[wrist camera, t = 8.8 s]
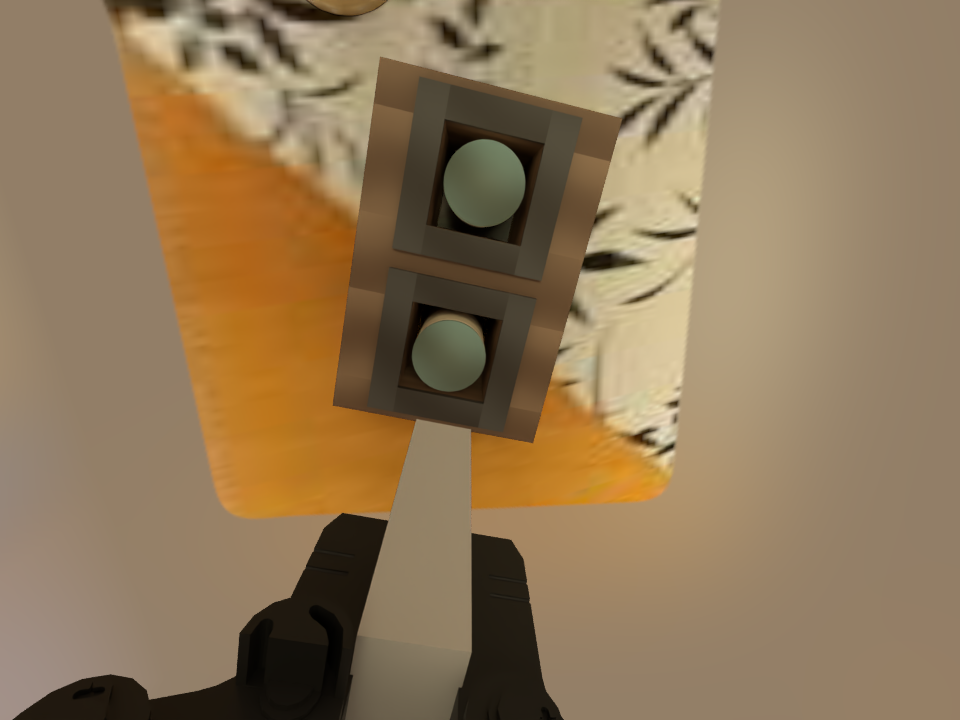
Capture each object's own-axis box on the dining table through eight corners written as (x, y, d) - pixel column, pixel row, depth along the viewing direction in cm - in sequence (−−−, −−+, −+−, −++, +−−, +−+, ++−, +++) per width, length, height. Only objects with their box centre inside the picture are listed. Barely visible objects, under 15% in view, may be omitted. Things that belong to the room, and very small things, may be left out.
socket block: (403, 103, 29) (378, 53, 21) (582, 147, 30) (625, 116, 22) (363, 365, 33) (330, 408, 25) (518, 395, 34) (533, 446, 26)
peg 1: (456, 157, 29) (452, 130, 21) (516, 171, 29) (534, 150, 21) (445, 220, 30) (436, 216, 22) (502, 233, 30) (514, 234, 22)
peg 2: (431, 292, 31) (419, 314, 23) (486, 304, 32) (492, 329, 24) (421, 346, 33) (406, 384, 25) (474, 357, 33) (476, 397, 25)
